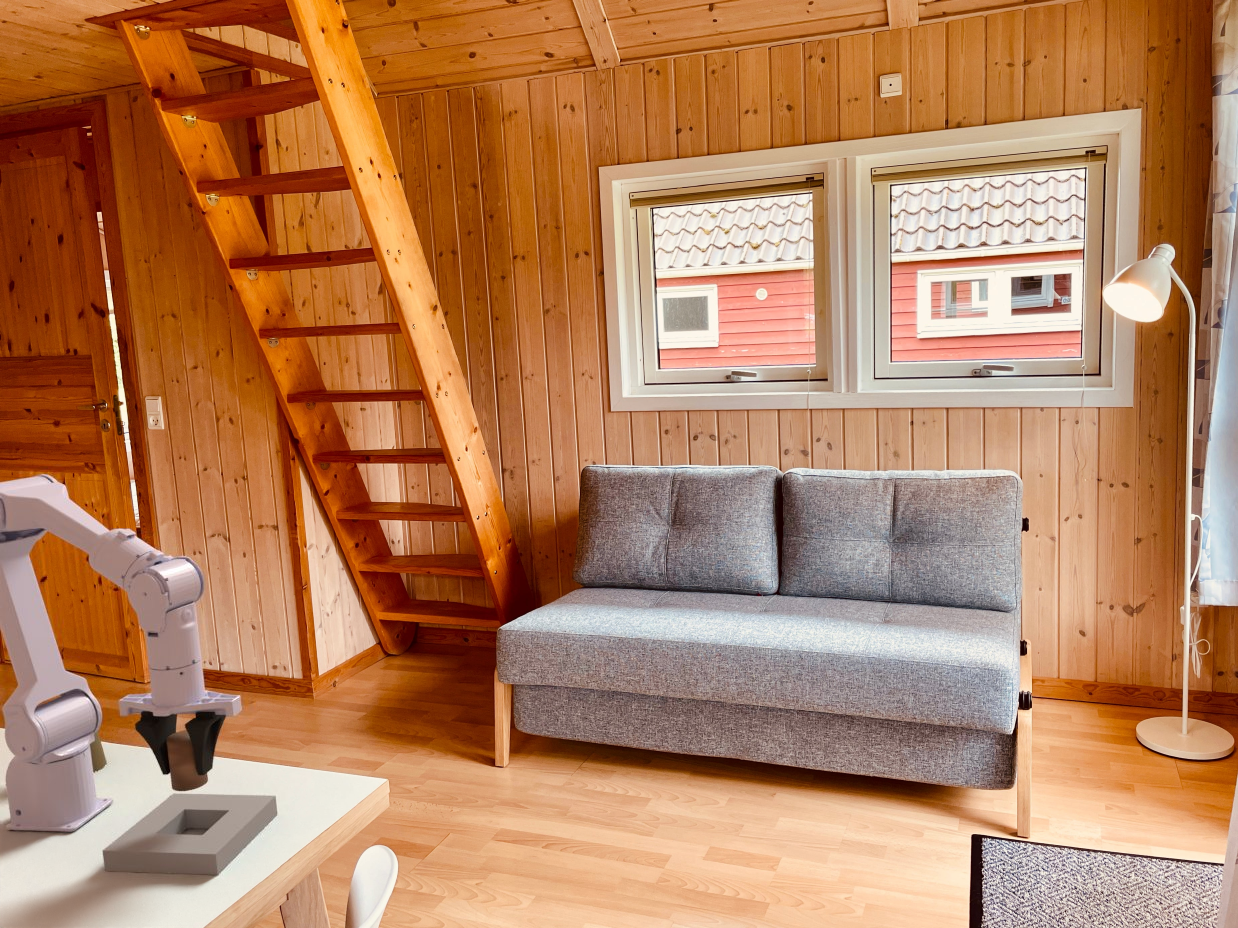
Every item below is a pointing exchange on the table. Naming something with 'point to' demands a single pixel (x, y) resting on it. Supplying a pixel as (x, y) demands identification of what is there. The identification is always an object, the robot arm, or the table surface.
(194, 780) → the wooden peg
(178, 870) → the socket block
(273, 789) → the table surface
